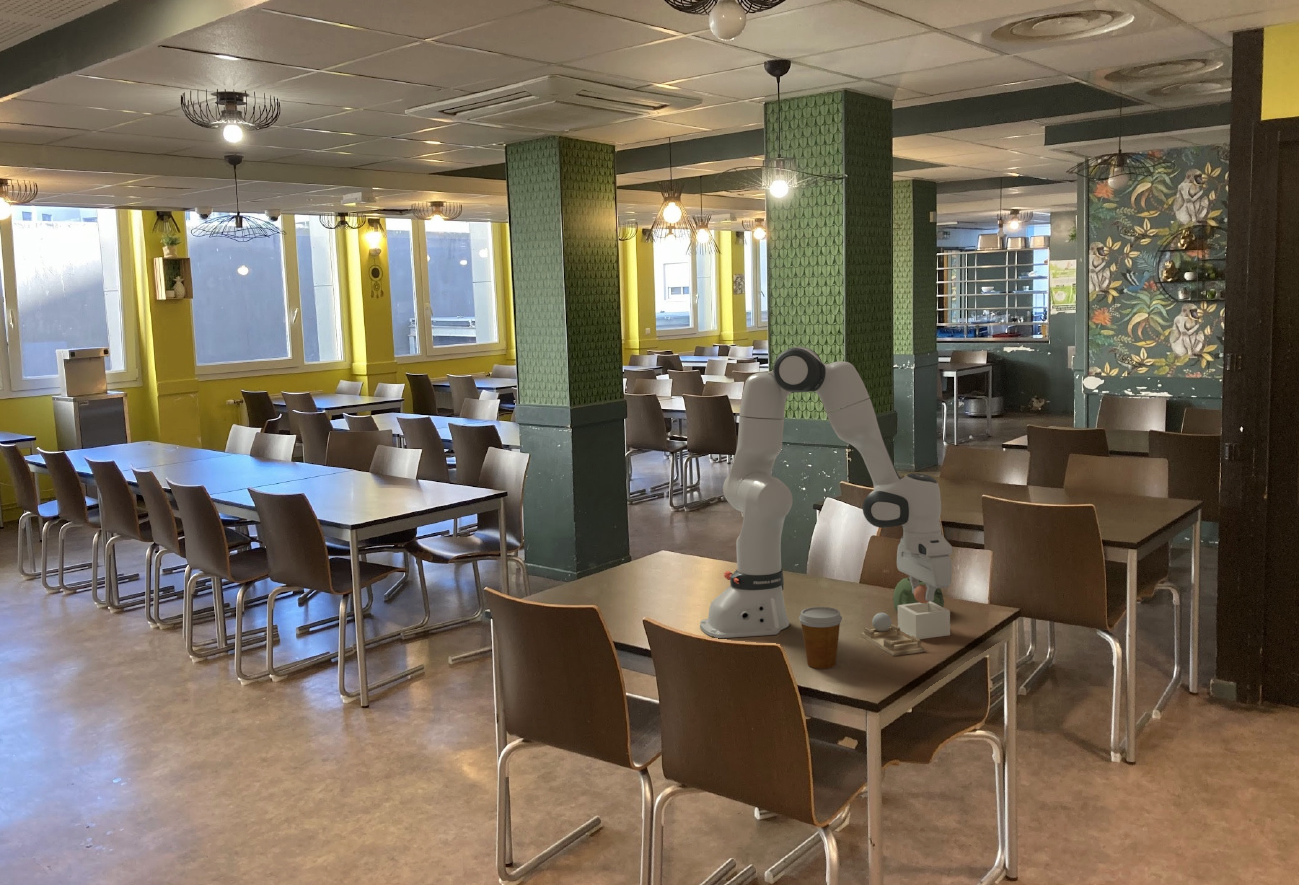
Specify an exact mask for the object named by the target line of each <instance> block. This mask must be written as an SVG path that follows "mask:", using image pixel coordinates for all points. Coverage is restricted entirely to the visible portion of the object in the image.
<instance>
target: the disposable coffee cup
mask: <svg viewBox="0 0 1299 885" xmlns="http://www.w3.org/2000/svg"><path fill="white" fill-rule="evenodd" d="M842 619H843V617H842V615H841V613H840V610H839V609H837V608H833V607H826V606H812V607H807V608H804V609H802V610H801V611H800V615H799V616H798V620H799V622H800V626H801V632H802V636H803V642H804V650H805V656H806V657H805V658H806V663H807V666H808V667H810V668H812V669H813V668H814V669H818V670H825V669H831V668H834V667H835V666H836V665H837V656H838V655H837V654H838V648H839V647H838V645H839V636H840V635H839V634H840V627H841V622H842Z"/></svg>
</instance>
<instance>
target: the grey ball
mask: <svg viewBox="0 0 1299 885" xmlns="http://www.w3.org/2000/svg"><path fill="white" fill-rule="evenodd" d="M871 621H872V622H871V623H872V626H873V629H876V630H878V631H881V632H884V631H887V630H888V629H889V628H890V627H891V624H893V623H892V622H893V621H892V618H891V617H890V615H889V614H887V613H885V612H878V613H876V614H874V616H873V617H872V620H871Z"/></svg>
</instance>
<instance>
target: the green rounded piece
mask: <svg viewBox="0 0 1299 885" xmlns="http://www.w3.org/2000/svg"><path fill="white" fill-rule="evenodd" d="M919 584H920V585H926V583H924V582H922V581H920V580H919ZM893 591H894V592H893V596H892V597H893V598H892V602H893V606H894V610H895V611H896V612H898V605H904V604H912V603H919V602H918V601H917V600H916V599H915V597H914V594H913V593H912V586H911V583H910V580H909V576H908V577H904V578H902V579H901V580H899V582H897V584H896V586H895V588H894V590H893ZM931 602H933V603H935V604H937V605H939V606H941V607H943V608H944V605H945V600H944V594H943V592H942V588H936V591H935V593H934V600H933V601H931Z"/></svg>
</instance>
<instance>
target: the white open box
mask: <svg viewBox="0 0 1299 885" xmlns="http://www.w3.org/2000/svg"><path fill="white" fill-rule="evenodd" d="M950 616H951V611H950V610H949V609H947V608H946V607H944V606H943V607H941V606H939V605H937V604H935V603H933V602H931V601H930V602H928V603H912V604H904V605H898V611H897V627H899V628H900V632H903V633H904V634H906V635H907V636H909V637H910V636H915V637H916V638H918V639H920V640H924V639H932V638H937V637H946V636H950V635H951V617H950Z"/></svg>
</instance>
